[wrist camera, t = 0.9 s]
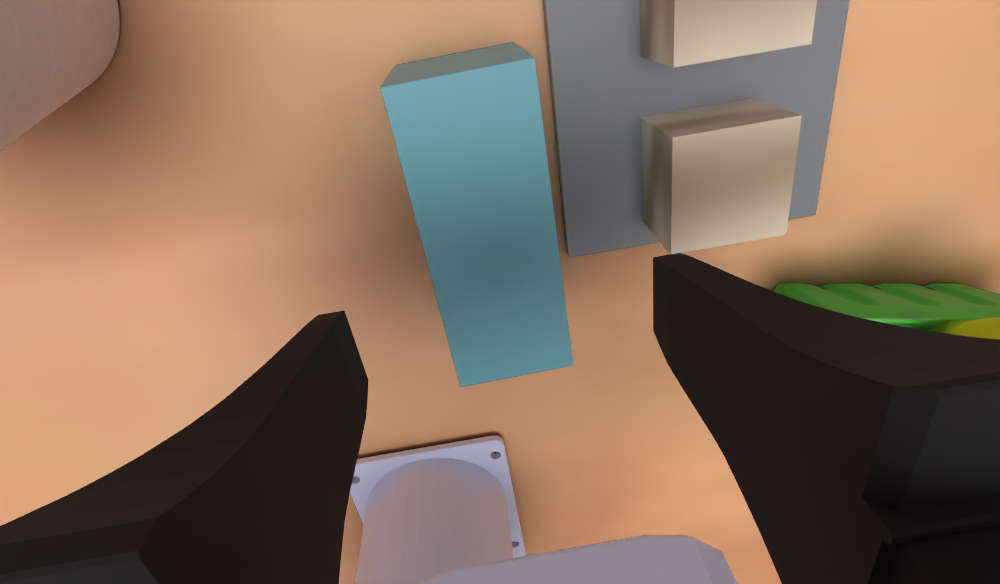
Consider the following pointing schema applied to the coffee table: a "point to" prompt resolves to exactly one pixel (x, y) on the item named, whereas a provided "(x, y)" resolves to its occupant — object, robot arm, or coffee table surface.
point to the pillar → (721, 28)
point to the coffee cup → (50, 56)
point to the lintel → (483, 207)
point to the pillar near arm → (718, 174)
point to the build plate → (665, 109)
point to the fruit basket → (908, 305)
